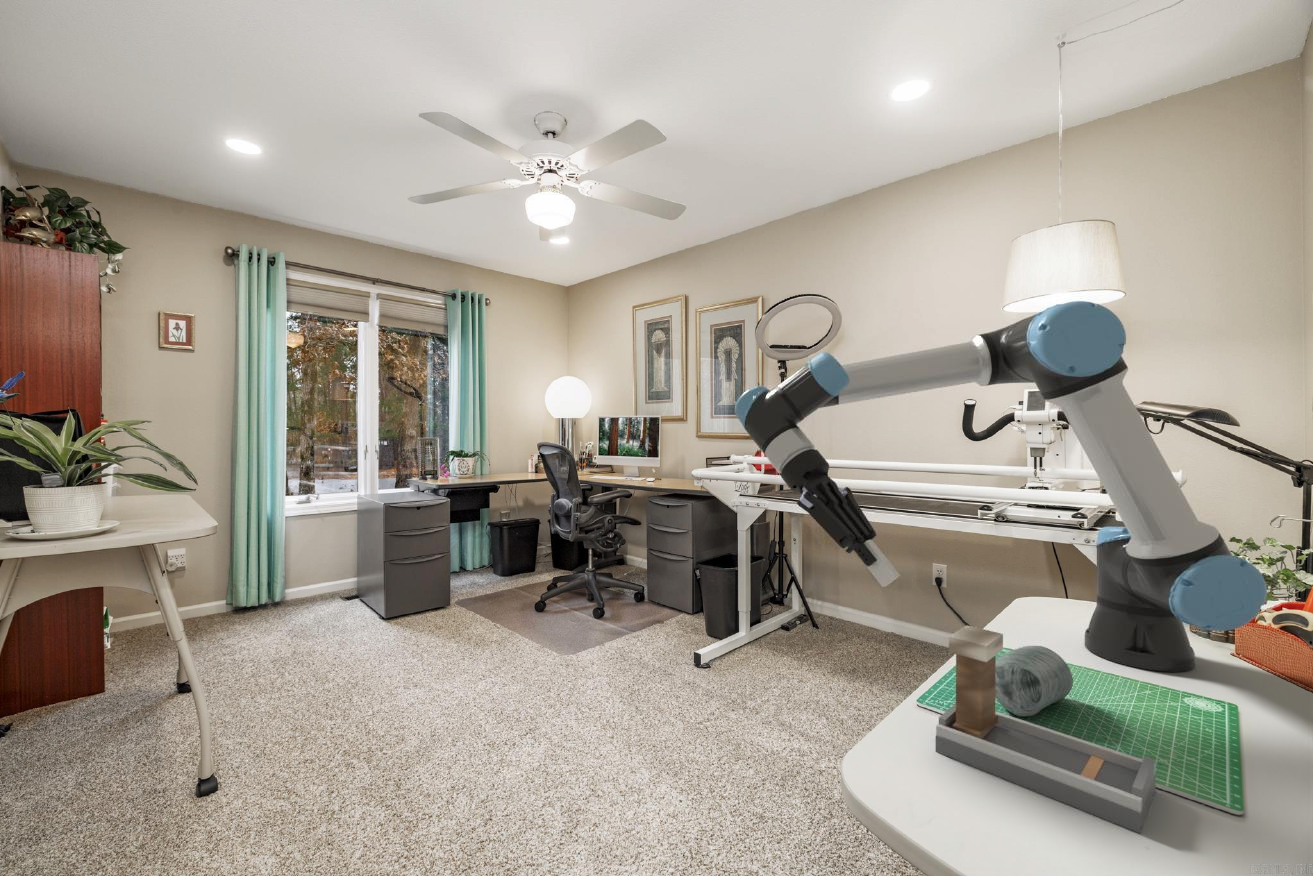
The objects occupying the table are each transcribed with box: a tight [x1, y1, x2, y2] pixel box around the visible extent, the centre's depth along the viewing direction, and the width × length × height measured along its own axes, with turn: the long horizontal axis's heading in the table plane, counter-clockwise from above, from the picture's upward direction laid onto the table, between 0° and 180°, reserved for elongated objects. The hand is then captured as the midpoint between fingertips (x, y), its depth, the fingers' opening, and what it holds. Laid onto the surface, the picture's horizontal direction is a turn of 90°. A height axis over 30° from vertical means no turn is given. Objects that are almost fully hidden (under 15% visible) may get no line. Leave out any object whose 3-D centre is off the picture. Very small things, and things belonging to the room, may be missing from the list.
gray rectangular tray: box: [935, 702, 1156, 834], centre depth 69 cm, size 20×10×4 cm, turn 42°
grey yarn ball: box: [995, 645, 1074, 717], centre depth 85 cm, size 14×10×10 cm
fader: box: [948, 625, 1004, 739], centre depth 74 cm, size 4×7×12 cm, turn 132°
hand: (891, 581), depth 84 cm, fingers closed
